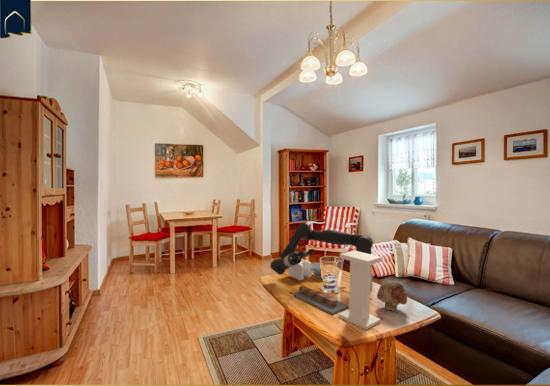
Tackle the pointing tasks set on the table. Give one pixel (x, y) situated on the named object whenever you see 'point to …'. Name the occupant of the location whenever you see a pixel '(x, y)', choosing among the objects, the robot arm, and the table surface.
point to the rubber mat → (322, 304)
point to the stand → (360, 289)
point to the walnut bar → (318, 296)
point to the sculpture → (392, 294)
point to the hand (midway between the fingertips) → (308, 251)
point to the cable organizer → (300, 270)
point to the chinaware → (316, 269)
